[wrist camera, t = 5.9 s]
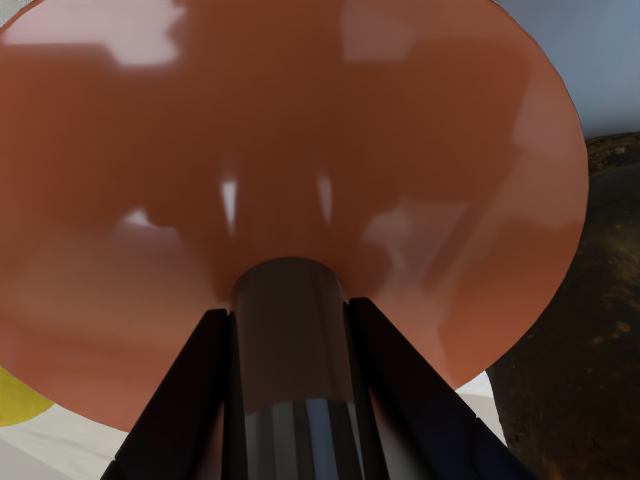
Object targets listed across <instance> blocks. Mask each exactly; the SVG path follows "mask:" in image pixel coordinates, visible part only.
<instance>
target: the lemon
mask: <svg viewBox="0 0 640 480" xmlns="http://www.w3.org/2000/svg"><path fill="white" fill-rule="evenodd" d="M54 404H55V403H54V402H53V401H51V400H49V399H47V398H45V397H44V396H42V395H40V394H38V393H36V392H35V391H34V390H32V389H31V388H29V387H28V386H27V385H25V384H24V383H22V382H21V381H19V380H18V379H17V378H15V377H14V376H12V375H11V374H10V373H8V372H7V371H6V370H5V369H4V368H3V367H2V366H1V365H0V427H3V426H9V425H14V424H17V423H21V422H24V421H27V420H29V419H31V418H33V417H35V416H37V415H39V414H41V413H42V412H44V411H46V410H47V409H49V408H50V407H51V406H53V405H54Z"/></svg>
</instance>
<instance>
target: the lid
mask: <svg viewBox="0 0 640 480" xmlns="http://www.w3.org/2000/svg"><path fill="white" fill-rule="evenodd" d="M588 192H589V175H588V156H587V149H586V145H585V140H584V136H583V132H582V128H581V124H580V119H579V115H578V113H577V111H576V108H575V106H574V104H573V102H572V99H571V97H570V95H569V93H568V90H567V88H566V86H565V84H564V82H563V79H562V77H561V76H560V75H559V73H558V72H557V70H556V69H555V67H554V66H553V64H552V63H551V62H550V60H549V59H548V57H547V56H546V54H545V53H544V51H543V50H542V49H541V47H540V46H539V44H538V43H537V42H536V41H535V40H534V39H533V38H532V37H531V36H530V35H529V34H528V33H527V32H526V31H525V30H524V29H523V28H522V27H521V26H520V25H519V24H518V23H517V22H516V21H515V20H514V19H513V18H512V17H511V16H510V15H509V14H508V13H507V12H506V11H505V10H504V9H503V8H502V7H501V6H499V5H498V4H496V3H495V2H493V1H492V0H34V1H32V2H31V3H29V4H28V5H26V6H25V7H23V8H21V9H20V10H19V11H18V12H17V13H16V14H15V15H14V16H13V17H12V18H11V19H10V20H8V21H7V22H6V23H5V24H4V25H3V26H2V27H1V28H0V365H1V366H2V367H3V368H4V369H5V370H6V371H7V372H8V373H10V374H11V375H12V376H14V377H15V378H17V379H18V380H19V381H21V382H22V383H24V384H25V385H27V386H28V387H29V388H31V389H32V390H34V391H35V392H36V393H38V394H40V395H42V396H44V397H45V398H47V399H49V400H51V401H53V402H54V403H56V404H58V405H60V406H61V407H63V408H65V409H67V410H70V411H72V412H74V413H76V414H79V415H81V416H83V417H85V418H88V419H90V420H92V421H95V422H98V423H101V424H104V425H106V426H109V427H112V428H115V429H118V430H121V431H124V432H128V433H130V431H131V429H132V428H133V426H134V425H135V423H136V421H137V420H138V418H139V417H140V415H141V413H142V412H143V410H144V409H145V407H146V405H147V404H148V402H149V401H150V399H151V398H152V396H153V394H154V393H155V391H156V390H157V388H158V386H159V385H160V383H161V382H162V380H163V378H164V377H165V375H166V374H167V372H168V370H169V369H170V367H171V366H172V364H173V362H174V361H175V359H176V358H177V356H178V354H179V353H180V351H181V350H182V348H183V346H184V345H185V343H186V342H187V340H188V338H189V337H190V335H191V334H192V332H193V331H194V329H195V327H196V326H197V324H198V323H199V321H200V319H201V318H202V316H203V315H204V313H205V312H206V311H207V310H209V309H219V308H225V309H226V310H227V313H228V330H227V352H226V372H225V390H224V411H223V433H222V454H221V475H220V480H391V479H390V475H389V471H388V467H387V463H386V458H385V454H384V450H383V446H382V442H381V438H380V434H379V430H378V426H377V422H376V417H375V413H374V409H373V405H372V401H371V397H370V393H369V389H368V385H367V381H366V377H365V372H364V368H363V364H362V360H361V356H360V352H359V348H358V344H357V340H356V336H355V331H354V327H353V323H352V319H351V315H350V311H349V307H348V302H349V299H350V298H354V297H368V298H369V299H370V300H371V301H372V302H373V303H374V304H375V305H376V306H377V307H378V308H379V309H380V310H381V312H382V313H383V314H384V315H385V316H386V317H387V318H388V319H389V320H390V321H391V322H392V323H393V325H394V326H395V327H396V328H397V329H398V330H399V331H400V332H401V333H402V334H403V335H404V337H405V338H406V339H407V340H408V341H409V342H410V343H411V344H412V345H413V346H414V347H415V349H416V350H417V351H418V352H419V353H420V354H421V355H422V356H423V357H424V358H425V359H426V360H427V362H428V363H429V364H430V365H431V366H432V367H433V368H434V369H435V370H436V371H437V372H438V374H439V375H440V376H441V377H442V378H443V379H444V380H445V381H446V382H447V383H448V384H449V385H450V387H451V388H452V389H453V390H454V391H455V390H456V389H458V388H460V387H461V386H463V385H464V384H466V383H468V382H469V381H471V380H472V379H473V378H475V377H476V376H477V375H479V374H480V373H482V372H483V371H484V370H486V369H487V368H488V367H490V366H491V365H492V364H494V363H495V362H496V361H497V360H498V359H499V358H500V357H501V356H503V355H504V354H505V353H506V352H507V351H508V350H509V349H510V348H512V347H513V346H514V345H515V344H516V343H517V342H518V340H519V339H520V338H521V337H522V336H523V335H524V334H525V333H526V332H527V331H528V330H529V329H530V328H531V327H532V325H533V324H534V323H535V322H536V320H537V319H538V318H539V316H540V315H541V314H542V312H543V311H544V310H545V308H546V307H547V306H548V304H549V303H550V302H551V300H552V298H553V297H554V295H555V293H556V292H557V290H558V288H559V287H560V285H561V283H562V281H563V280H564V278H565V276H566V274H567V272H568V269H569V267H570V265H571V262H572V260H573V258H574V255H575V253H576V251H577V248H578V244H579V241H580V237H581V233H582V230H583V226H584V223H585V219H586V210H587V201H588Z"/></svg>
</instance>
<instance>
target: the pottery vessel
mask: <svg viewBox="0 0 640 480" xmlns="http://www.w3.org/2000/svg"><path fill="white" fill-rule="evenodd" d="M585 145H586V149H587V156H588V175H589V192H588V201H587V210H586V219H585V223H584V226H583V230H582V233H581V237H580V241H579V244H578V248H577V251H576V253H575V255H574V258H573V260H572V262H571V265H570V267H569V269H568V272H567V274H566V276H565V278H564V280H563V281H562V283H561V285H560V287H559V288H558V290H557V292H556V293H555V295H554V297H553V298H552V300H551V302H550V303H549V304H548V306H547V307H546V308H545V310H544V311H543V312H542V314H541V315H540V316H539V318H538V319H537V320H536V322H535V323H534V324H533V325H532V327H531V328H530V329H529V330H528V331H527V332H526V333H525V334H524V335H523V336H522V337H521V338H520V339H519V340H518V342H517V343H516V344H515V345H514V346H513V347H512V348H510V349H509V350H508V351H507V352H506V353H505V354H504V355H503V356H501V357H500V358H499V359H498V360H497V361H496V362H495V363H494V364H492V365H491V366H490V367H488V368H487V369H486V370H485V371H486V373H487V375H488V377H489V380H490V384H491V387H492V391H493V396H494V400H495V405H496V409H497V412H498V415H499V422H500V424H501V426H502V430H503V434H504V437H505V440H506V444H507V448H508V449H509V450H510V451H511V452H512V453H513V454H514V455H515V456H516V457H517V458H518V459H519V460H520V461H521V462H522V463H523V464H524V465H526V466H527V467H528V468H529V469H530V470H531V471H532V472H533V473H534V474H535V475H536V476H537V477H538V478H539V479H540V480H640V133H628V134H622V135H618V136H608V137H601V138H596V139H594V140H591V141H588V142H585Z"/></svg>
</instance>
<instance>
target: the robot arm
mask: <svg viewBox="0 0 640 480" xmlns="http://www.w3.org/2000/svg"><path fill="white" fill-rule="evenodd" d="M348 307H349V311H350V315H351V319H352V323H353V327H354V331H355V336H356V340H357V344H358V348H359V352H360V356H361V360H362V364H363V368H364V372H365V377H366V381H367V385H368V389H369V393H370V397H371V401H372V405H373V409H374V413H375V417H376V422H377V426H378V430H379V434H380V438H381V442H382V446H383V450H384V454H385V458H386V463H387V467H388V471H389V475H390V479H391V480H540V479H539V478H538V477H537V476H536V475H535V474H534V473H533V472H532V471H531V470H530V469H529V468H528V467H527V466H526V465H524V464H523V463H522V462H521V461H520V460H519V459H518V458H517V457H516V456H515V455H514V454H513V453H512V452H511V451H510V450H509V449H508V448H507V447H506V446H505V445H504V444H503V443H502V442H501V440H500V439H499V438H498V437H497V436H496V435H495V434H494V433H493V432H492V431H491V430H490V429H489V428H488V427H487V426H486V425H485V424H484V422H483V421H482V420H481V419H480V418H478V417H477V418H476V414H475V413H474V412H473V411H472V409H471V408H470V407H469V406H468V405H467V404H466V403H465V402H464V401H463V400H462V399H461V397H460V396H459V395H458V394H457V393H456V392H455V391H454V390H453V389H452V388H451V387H450V385H449V384H448V383H447V382H446V381H445V380H444V379H443V378H442V377H441V376H440V375H439V374H438V372H437V371H436V370H435V369H434V368H433V367H432V366H431V365H430V364H429V363H428V362H427V360H426V359H425V358H424V357H423V356H422V355H421V354H420V353H419V352H418V351H417V350H416V349H415V347H414V346H413V345H412V344H411V343H410V342H409V341H408V340H407V339H406V338H405V337H404V335H403V334H402V333H401V332H400V331H399V330H398V329H397V328H396V327H395V326H394V325H393V323H392V322H391V321H390V320H389V319H388V318H387V317H386V316H385V315H384V314H383V313H382V312H381V310H380V309H379V308H378V307H377V306H376V305H375V304H374V303H373V302H372V301H371V300H370V299H369V298H368V297H354V298H350V299H349V302H348ZM227 330H228V313H227V310H226V309H225V308H219V309H209V310H207V311H206V312H205V313H204V315H203V316H202V318H201V319H200V321H199V323H198V324H197V326H196V327H195V329H194V331H193V332H192V334H191V335H190V337H189V338H188V340H187V342H186V343H185V345H184V346H183V348H182V350H181V351H180V353H179V354H178V356H177V358H176V359H175V361H174V362H173V364H172V366H171V367H170V369H169V370H168V372H167V374H166V375H165V377H164V378H163V380H162V382H161V383H160V385H159V386H158V388H157V390H156V391H155V393H154V394H153V396H152V398H151V399H150V401H149V402H148V404H147V405H146V407H145V409H144V410H143V412H142V413H141V415H140V417H139V418H138V420H137V421H136V423H135V425H134V426H133V428H132V429H131V431H130V433H129V434H128V436H127V437H126V439H125V441H124V442H123V444H122V445H121V447H120V449H119V450H118V452H117V453H116V455H115V460H116V461H115V460H113V461H111V463H110V464H109V466H108V467H107V469H106V471H105V472H104V474H103V475H102V477H101V479H100V480H220V475H221V454H222V433H223V411H224V390H225V372H226V352H227Z"/></svg>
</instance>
